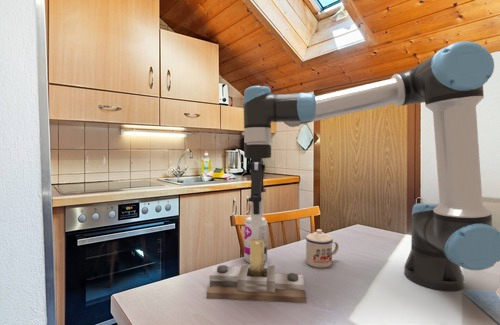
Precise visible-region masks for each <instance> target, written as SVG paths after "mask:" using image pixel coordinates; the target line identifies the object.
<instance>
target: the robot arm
mask: <svg viewBox="0 0 500 325" xmlns="http://www.w3.org/2000/svg"><path fill="white" fill-rule="evenodd" d="M494 69H495V61H494V58H493V55H492V54H491V52H490V51H489V50H488V49H487V48H486V47H485V46H482V45H481V44H480V43H477V42H474V41H468V40H465V41H457V42H453V43H451V44H450V45H449V44H448V46H445V47H442V48H441V49H438V51H436V53H435V54H433V55H432V56H430V57H429V58H427V59H425V60H424V61H422V62H420V63H419V64H417V65H415V66H413V67H412V68H410V69H408V70H405V71H402V72H399V73H394V74H393V75H392V76H391V77H390V78H388V79H383V80H380V81H375V82H371V83H366V84H362V85H358V86H354V87H353V86H352V87H349V88H345V89H341V90H337V91H332V92H328V93H325V94H319V95H315V94H314V93H313V92H311V93H310V92H307V93H306V92H300V93H299V92H297V93H296V92H295V93H277V94H275V93H272V90H271V88H270V86H265V85H263V86H262V85H253V86H249V87H247V88H246V89H244V92H243V94H244V95H243V132H241V135H242V136H243V138H244V140H243V141H244V142H243V143H245V145H244V146H243V152H244V153H243V157H244V158H245V159H252V162H251V163H250V165H249V171H250V197H248V202H250V212H251V213H250V216H251V227H262V217H263V215H264V214H265V206H264V205H265V193H266V192H267V189H266V188H265V186H264V179H265V170H266V164H264V160H263V159H271V157H272V145H271V142H272V123H284V124H285V125H286V126H288V127H292V128H294V127H299V126H301V125H304V124H309V123H312V122H317V121H322V120H326V119H330V118H334V117H335V118H336V117H340V116H344V115H350V114H354V113H358V112H363V111H368V110H372V109H378V108H380V107H381V108H382V107H386V106H391V105H395V106H396V107H402V106H407V105H413V104H421V103H422V104H425V106H424V107H426V108H427V109H429V110H430V111H431V112H432V118H433V129H434V130H433V131H434V143H435V159H436V168H437V169H436V170H437V172H436V173H437V184H438V198H439V199H438V200H439V203H415V204H414V205H412V209H411V210H412V212H411V241H410V242H411V245H410V246H411V249H410V252H409V254H408V257H407V259H406V261H405V264H404V266H403V274H404V276H405V277H406V278H407V279H408V280H410V281H412V282H414V283H416V284H417V285H420V286H423V287H425V288H428V289H429V288H430V289H434V290H437V291H445V292H446V291H447V292H449V291H450V292H451V291H452V292H455V291H461V290H462V289H463V288H464V287H465V278H464V273H463V272H462V269H461V268H464V269H466V270H469V271H483V270H487V269H490V268H492V267H494V266H495V264H496V263H499V262H500V231H499V229H497V228H496V227H494V226H493V218H492V217H493V215H492V211H491V209H489V208H487V207H486V206H485V205H484V204H483V192H482V189H483V188H482V179H481V178H482V176H481V161H480V148H479V132H478V120H477V118H478V116H477V105H478V104H479V103H480V102H481V101H482V100H483V99H484V97H485V96H484V85H485V84H486V83H487V82H488V81H489V79H490V78H491V77H492V75H493V73H494Z"/></svg>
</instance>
